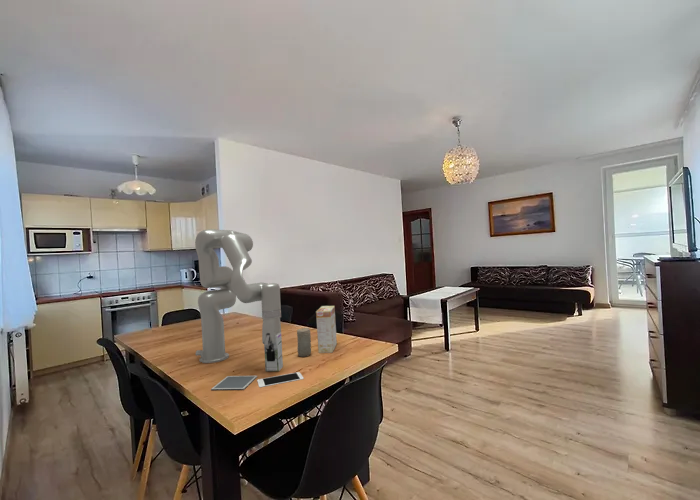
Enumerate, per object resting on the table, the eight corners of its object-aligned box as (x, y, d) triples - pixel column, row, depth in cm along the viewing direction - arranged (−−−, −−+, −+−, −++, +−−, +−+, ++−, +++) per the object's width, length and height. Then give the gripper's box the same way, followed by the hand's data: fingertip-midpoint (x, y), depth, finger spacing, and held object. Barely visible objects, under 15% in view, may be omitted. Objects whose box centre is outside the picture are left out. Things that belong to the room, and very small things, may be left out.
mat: (211, 390, 114) (210, 388, 114) (227, 377, 126) (227, 376, 126) (243, 390, 113) (243, 388, 113) (257, 376, 125) (257, 375, 125)
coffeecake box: (323, 344, 166) (321, 306, 167) (337, 343, 166) (335, 305, 166) (317, 353, 151) (315, 311, 152) (332, 352, 151) (330, 310, 151)
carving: (298, 358, 145) (296, 331, 145) (297, 353, 153) (296, 327, 153) (312, 356, 146) (310, 330, 147) (311, 352, 154) (309, 326, 154)
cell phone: (257, 381, 122) (257, 379, 122) (299, 373, 128) (299, 371, 128) (259, 388, 115) (259, 387, 115) (304, 380, 120) (304, 378, 120)
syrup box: (283, 366, 135) (281, 331, 135) (278, 371, 129) (277, 335, 130) (270, 366, 136) (268, 331, 136) (264, 372, 130) (263, 335, 130)
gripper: (270, 310, 142) (272, 352, 142) (254, 318, 125) (256, 365, 124) (286, 309, 141) (289, 351, 141) (273, 317, 124) (275, 365, 124)
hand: (273, 358), depth 133 cm, fingers closed on syrup box, 5 cm apart
